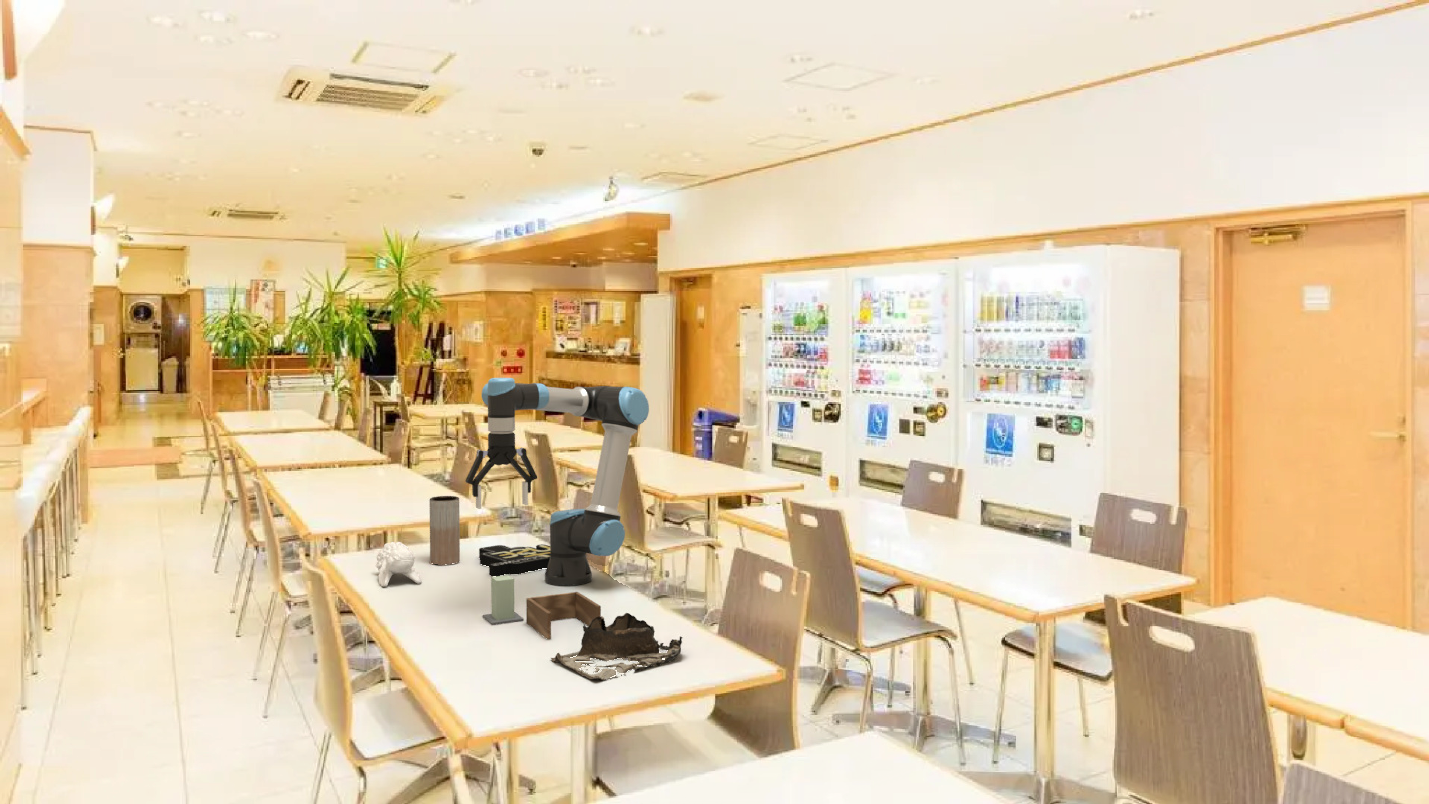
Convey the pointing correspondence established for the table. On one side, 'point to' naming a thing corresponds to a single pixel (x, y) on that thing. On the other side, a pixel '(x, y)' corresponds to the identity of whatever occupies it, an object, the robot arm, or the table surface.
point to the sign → (514, 559)
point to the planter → (444, 530)
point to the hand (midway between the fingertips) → (502, 506)
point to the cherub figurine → (396, 563)
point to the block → (502, 597)
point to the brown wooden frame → (559, 610)
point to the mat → (494, 621)
